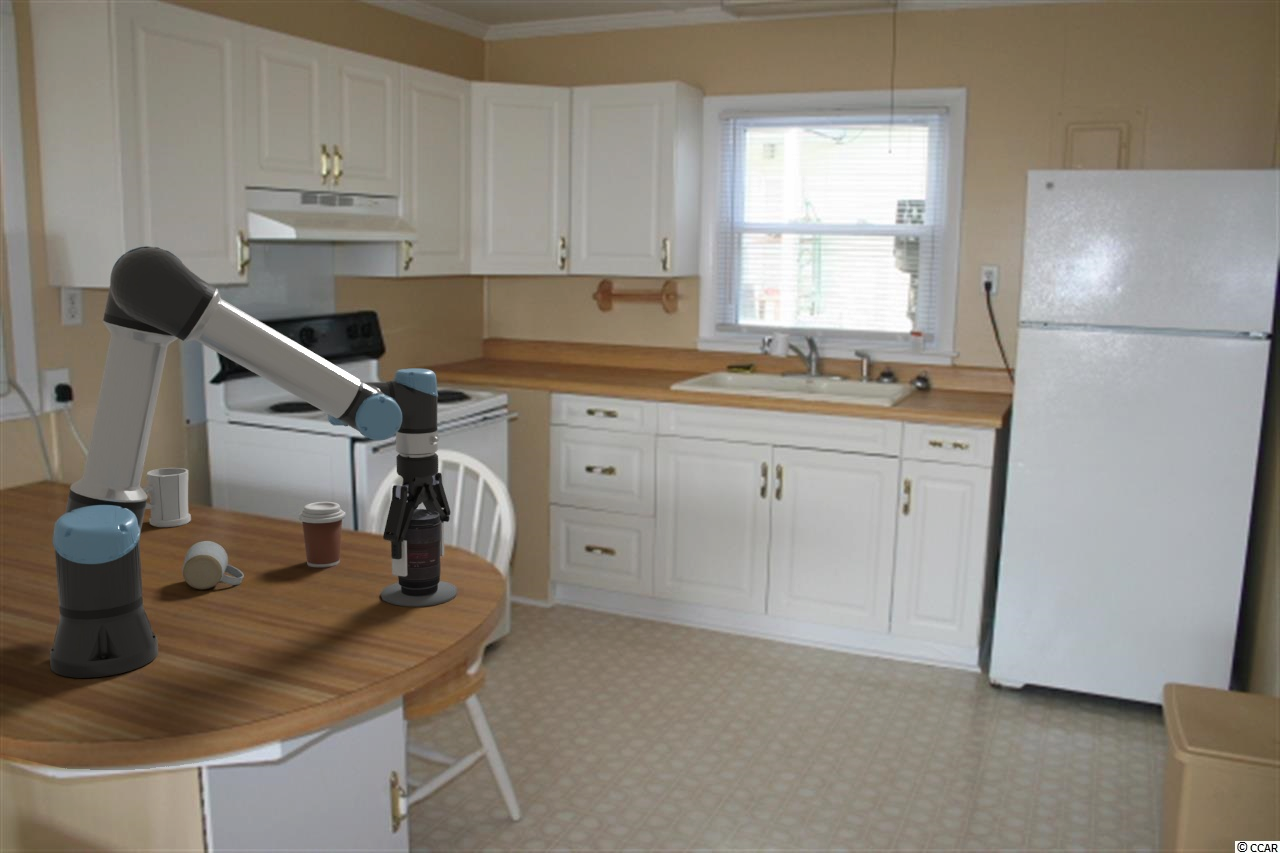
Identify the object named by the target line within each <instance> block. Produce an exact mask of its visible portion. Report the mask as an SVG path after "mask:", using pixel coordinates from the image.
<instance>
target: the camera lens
mask: <svg viewBox="0 0 1280 853" xmlns="http://www.w3.org/2000/svg"><path fill="white" fill-rule="evenodd" d="M404 540H406V541H407V576H397V578H398V583H399V585H400V586H401V591H402V593H403V594H405V595H408V596H426V595H430V594H433V593H435V592H436V591H437V590H438V583H439V582H440V581H441V567H442V566H441V565H442V564H441V556H440V540H441V520H440V514H439V513H438V512H436V511H433V510H427V509H426V508H417V509H415V510H414V513H413V515H412V518H411V521H410V524H409V527H408V529H407V532H406V535H405V538H404Z"/></svg>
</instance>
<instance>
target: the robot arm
mask: <svg viewBox="0 0 1280 853" xmlns="http://www.w3.org/2000/svg"><path fill="white" fill-rule="evenodd" d="M109 281H110V282H109V288H108V294H107V299H106V304H105V308H104V315H103V320H102V323H103V325H104V326H105V328H106V329H107V330H108V332H109V333H110V334H109V335H110V339H109V344H108V349H107V353H106V359H105V363H104V368H103V373H102V378H101V384H100V389H99V394H98V398H97V403H96V408H95V415H94V419H93V424H92V429H91V435H90V440H89V444H88V451H87V455H86V460H85V464H84V468H83V469H84V470H83V474H82V475H83V476H82V477H81V478H80V479H78V480H77V481H75V482H73V483H72V484H70V487H69V493H68V497H67V503H66V506H65V507H66V508H65V513H64V514H62V515H61V516H59V518H57V520H55V523H54V527H53V535H52V544H53V547H54V554H55V566H56V568H55V569H56V579H57V580H56V581H57V591H58V592H57V593H58V594H57V595H58V596H57V597H58V608H59V610H58V611H59V619H58V620H59V621H58V623H57V627H56V632H55V637H54V642H53V645H52V646H51V648H50V652H49V660H50V661H49V663H50V669H51V671H52V672H53V673H55V674H56V675H60V676H63V677H66V678H67V677H68V678H76V679H81V678H82V679H83V678H84V679H86V678H87V679H88V678H89V679H90V678H100V677H109V676H110V677H111V676H114V675H118V674H124V673H126V672H127V673H128V672H130V671H133V670H136V669H139V668H142V667H144V666H146V665H148V664H149V663H151V662H152V661H154V660H155V659H156V658H157V657H158V655H159V646H158V637H157V636H156V633H155V632H153V629H152V625H151V622H150V620H149V618H148V615H147V613H146V611H145V608H144V601H143V600H144V599H143V585H142V584H143V582H142V580H143V579H142V567H141V565H142V564H141V546H140V545H141V543H140V541H141V540H140V537H141V531H142V526H143V521H144V516H145V511H146V509H145V507H146V502H148V497H149V495H148V493H147V494H146V493H145V492H144V490H143V489H142V487H141V481H142V476H143V472H144V467H145V460H146V457H147V456H146V455H147V452H148V446H149V442H150V437H151V431H152V426H153V421H154V418H155V411H156V407H157V402H158V395H159V391H160V388H161V381H162V377H163V373H164V372H163V371H164V367H165V362H166V356H167V353H168V351H167V350H168V348H169V346H170V344H172V343H173V342H175V341H176V340H178V339H179V340H180V341H182V342H185V343H186V342H191V341H196V342H198V343H200V344H201V345H204V346H205V347H207V348H209V349H211V350H213V351H214V352H216V353H218V354H220V355H222V356H223V357H225V358H227V359H228V360H231V361H232V362H234V363H236V364H238V365H239V366H241V367H243V368H245V369H247V370H248V371H250V372H252V373H254V374H256V375H257V376H260V377H261V378H263V379H265V380H266V381H268V382H270V383H272V384H274V385H275V386H277V387H279V388H280V389H283V390H285V391H286V392H288V393H290V394H292V395H294V396H295V397H297V398H299V399H301V400H302V401H305V402H307V403H308V404H310V405H311V406H313V407H315V408H317V409H319V410H320V411H323V412H324V413H326V415H327V419H328V422H329V424H331V425H332V426H339V427H340V426H341V427H343V426H344V427H348V426H349V427H351V428H352V429H354V430H356V431H358V432H359V433H360V434H361V435H362V436H363V437H366V438H367V439H369V440H374V441H385V440H388V439H390V438H393V436H395V452H397V453H398V454H397V456H396V474H397V475H398V476H400V477H401V478H402V484H401V485H396V484H394V485H393V486H392V488H391V490H392V492H391V502H390V506H389V509H388V514H387V518H386V522H385V528H384V531H383V534H382V538H383V541H389V542H390V548H391V552H390V553H391V574H392V576H397V577H398V576H407V541H406V540H404V538H405V535H406V532H407V529H408V527H409V524H410V521H411V518H412V515H413V513H414V510H415V509H419V506H420V505H421V504H423V506H424V509H427V510H433V511H436V512H438V513H439V514H440V520H441V540H440V557H444V556H445V522H446V523H448V522H449V521H450V516H451V509H450V506H449V505H450V504H449V502H448V498H447V495H446V491H445V488H444V485H443V475H442V473H441V472H439V455H438V454H437V453H436V452H437V451H438V450H439V448H438V447H439V445H438V444H439V440H440V438H439V437H438V430H439V429H438V401H439V400H438V398H439V394H438V381H437V375H436V373H435V372H434V371H433V370H431V369H428V368H418V367H417V368H413V367H411V368H403V369H397V370H396V371H395V373H394V378H393V380H389V381H380V382H379V381H378V382H377V381H375V382H373V381H372V382H371V381H370V382H369V381H368V382H364V381H363V380H361V379H360V378H358V377H356V376H354V375H352V374H351V373H350V372H347V371H346V370H345V369H343V368H341V367H339V366H337V365H335V364H334V363H332V362H331V361H329V360H327V359H325V358H324V357H323V356H320V355H319V354H317V353H314V352H313V351H311V350H310V349H308V348H306V347H304V346H303V345H301V344H299V343H298V342H296V341H295V340H293V339H291V338H289V337H288V336H286V335H284V334H283V333H281V332H279V331H278V330H275V329H274V328H272V327H270V326H269V325H267V324H266V323H263V322H262V321H260V320H258V319H257V318H255V317H253V316H252V315H250V314H248V313H246V312H244V311H243V310H241V309H240V308H237V306H234V305H232V304H231V303H229V302H227V301H226V300H224V299H222V298H221V295H220V294H221V293H220V291H219V289H218V288H216V287H215V286H213V285H211V284H210V283H208V282H207V281H205V280H203V279H202V278H200V276H198V275H197V274H195V273H194V272H193V271H192V270H190V269H189V268H188V267H187V266H186V265H185V264H184V263H183V261H182V260H181V259H180V258H179V256H177V255H175V254H174V253H172V252H171V251H170V250H165V249H163V248H160V247H159V246H158V247H156V246H155V247H154V246H149V245H146V246H139V247H134V248H132V249H130V250H127V251H126V252H125V253H123V254H122V255H120V257H119V258H117V260H116V262H115V263H114V265H113V267H112V270H111V274H110V280H109Z"/></svg>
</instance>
